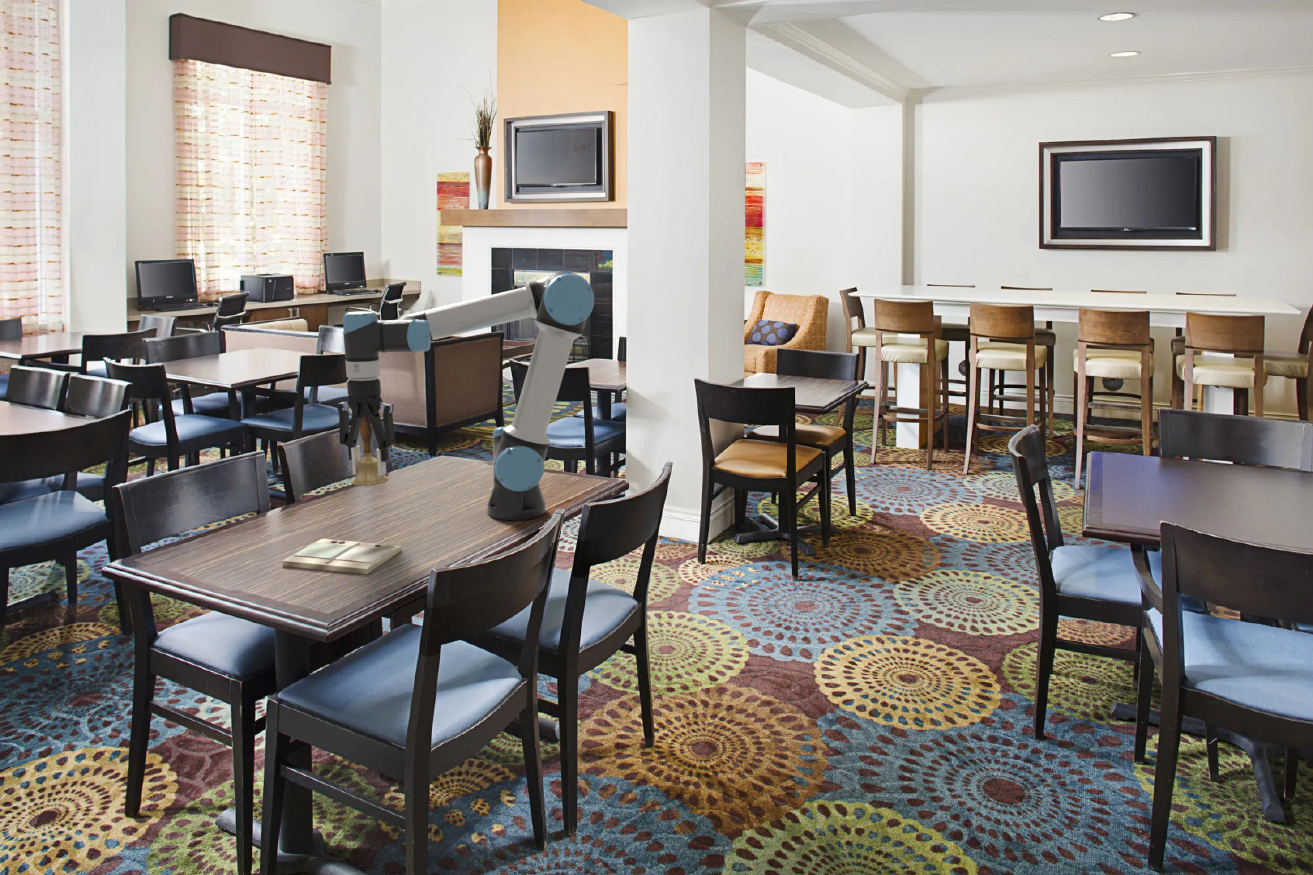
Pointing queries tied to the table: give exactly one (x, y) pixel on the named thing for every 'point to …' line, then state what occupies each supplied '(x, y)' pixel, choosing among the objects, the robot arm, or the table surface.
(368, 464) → the hand bell
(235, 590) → the table surface
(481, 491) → the table surface
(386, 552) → the slot board
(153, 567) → the table surface
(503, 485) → the robot arm
